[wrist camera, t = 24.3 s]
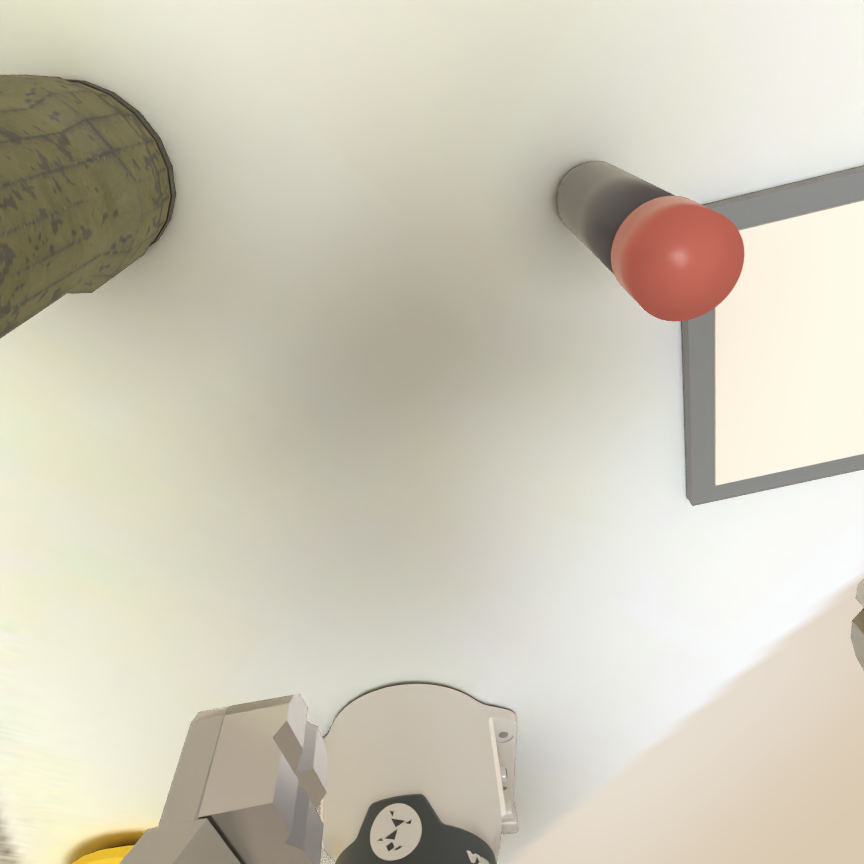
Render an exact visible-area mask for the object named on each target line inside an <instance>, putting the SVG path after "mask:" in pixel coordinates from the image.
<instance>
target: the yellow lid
mask: <svg viewBox="0 0 864 864" xmlns="http://www.w3.org/2000/svg"><path fill="white" fill-rule="evenodd" d="M133 846H134V845H128V846H122V847H116V848H109V849H103V850H99V851H96V852H93V853H90V854H87V855H84V856H82V857H81V858H79V859H78V860H76V861H75V862H73V863H72V864H119V863H120V862H121V861H122V859H123V858H124V857H125V856H126V855H127V853H128V852H129V851H130V850H131V849H132V848H133Z"/></svg>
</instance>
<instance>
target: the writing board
mask: <svg viewBox="0 0 864 864" xmlns="http://www.w3.org/2000/svg"><path fill="white" fill-rule="evenodd" d="M703 206H705V207H707V208H709V209H711V210H713V211H715V212H717V213H720V214H722V215H723V216H725V217H726V218H728V219H729V220H730V221H731V222H732V223H733V224H734V225H735V226H736V227H737V229H738V231H739V233H740V234H741V237H742V240H743V244H744V263H743V268H742V271H741V274H740V277H739V279H738V281H737V283H736V285H735V286H734V288H733V290H732V291H731V292H730V294H729V295H728V296H727V297H726V298H725V299H724V300H723V301H722V302H721V303H720V304H719V305H718V306H717V307H715V308H714V309H712V310H711V311H709V312H707V313H706V314H704V315H702V316H699V317H697V318H694V319H690V320H685V321H682V352H683V386H684V420H685V454H686V488H687V499H688V500H689V501H690V503H691V504H692V506H695V505H699V504H704V503H709V502H713V501H718V500H723V499H727V498H732V497H737V496H742V495H746V494H751V493H756V492H760V491H765V490H770V489H774V488H779V487H784V486H788V485H793V484H798V483H802V482H807V481H812V480H816V479H821V478H826V477H831V476H835V475H840V474H845V473H849V472H854V471H859V470H863V469H864V166H860V167H856V168H852V169H848V170H844V171H840V172H836V173H831V174H827V175H823V176H819V177H815V178H811V179H807V180H803V181H799V182H795V183H790V184H786V185H782V186H778V187H774V188H770V189H766V190H762V191H758V192H754V193H749V194H745V195H741V196H737V197H733V198H729V199H725V200H721V201H717V202H713V203H709V204H704V205H703Z"/></svg>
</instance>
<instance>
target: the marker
mask: <svg viewBox="0 0 864 864" xmlns="http://www.w3.org/2000/svg"><path fill="white" fill-rule="evenodd" d="M557 207H558V212H559V215H560V217H561V219H562V221H563V222H564V224H565V225H566V226H567V227H568V228H569V229H570V230H571V231H572V232H573V233H574V234H575V235H576V236H577V237H578V238H579V239H580V240H581V241H582V242H583V243H584V244H585V245H586V246H587V247H588V248H589V249H590V250H591V251H592V252H593V253H594V254H595V255H596V256H597V257H598V258H599V259H600V260H601V262H602V263H603V264H604V265H605V266H606V267H607V268H608V269H609V270H610V271H611V272H612V273H613V274H614V275H615V277H616V279H617V281H618V282H619V284H620V285H621V286H622V287H623V288H624V289H625V290H626V291H627V292H628V293H629V294H630V295H631V296H632V297H633V298H634V299H635V300H636V301H637V302H638V303H639V305H640V306H641V307H642V308H643V309H644V310H645V311H647V312H648V313H649V314H651V315H653V316H654V317H657V318H659V319H662V320H667V321H685V320H690V319H694V318H697V317H699V316H702V315H704V314H706V313H707V312H709V311H711V310H712V309H714V308H715V307H717V306H718V305H719V304H720V303H721V302H722V301H723V300H724V299H725V298H726V297H727V296H728V295H729V294H730V292H731V291H732V290H733V288H734V286H735V285H736V283H737V281H738V279H739V277H740V274H741V271H742V268H743V263H744V244H743V240H742V237H741V234H740V233H739V231H738V229H737V227H736V226H735V225H734V224H733V223H732V222H731V221H730V220H729V219H728V218H726V217H725V216H723V215H722V214H720V213H717V212H715V211H713V210H711V209H709V208H707V207H705V206H703V205H701V204H698V203H696V202H694V201H692V200H690V199H687V198H684V197H680V196H675V195H673V194H671V193H668V192H666V191H664V190H662V189H660V188H658V187H656V186H654V185H652V184H650V183H648V182H646V181H644V180H642V179H640V178H638V177H636V176H634V175H631V174H629V173H627V172H625V171H623V170H621V169H619V168H617V167H615V166H613V165H611V164H609V163H606V162H602V161H591V162H587V163H584V164H581V165H578V166H576V167H574V168H573V169H571V170H570V171H569V172H568V173H567V174H566V175H565V176H564V177H563V179H562V180H561V182H560V185H559V188H558V192H557Z"/></svg>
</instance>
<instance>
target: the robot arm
mask: <svg viewBox="0 0 864 864" xmlns="http://www.w3.org/2000/svg"><path fill="white" fill-rule="evenodd" d="M856 599H857V600H858V601H859V603H860V604H861V605H862V606H863V607H864V579H863V580H862V581H861V582H860V583H859V584H858V587H857V593H856ZM851 640H852V644H853V647H854V651H855V654H856V657H857V659H858V661H859V663H860V664H861V666H862V668H863V670H864V609H862V611H861V612H860V613H859V614H858V615H857V616H856V617H855V618H854V619H853V620H852V628H851ZM307 711H308V707H307V706H306V704H305V702H304V700H303V699H302V697H301V695H300V694H298V695H290V696H285V697H279V698H273V699H267V700H262V701H256V702H250V703H244V704H239V705H233V706H228V707H223V708H218V709H212V710H207V711H202V712H199V713H198V714H197V715H196V717H195V718H194V719H193V721H192V722H191V724H190V727H189V730H188V734H187V737H186V740H185V743H184V746H183V749H182V753H181V756H180V759H179V762H178V765H177V768H176V772H175V775H174V778H173V781H172V784H171V787H170V791H169V794H168V797H167V800H166V803H165V806H164V810H163V813H162V816H161V819H160V822H159V826H158V827H155V828H150V829H148V830H147V831H146V832H145V833H144V834H143V836H142V837H141V838H140V839H139V840H138V842H137V843H136V844H135V845H134V846H133V848H132V849H131V850H130V851H129V852H128V853H127V855H126V856H125V857H124V858H123V859H122V861H121V862H120V863H119V864H320V859H321V848H323V849H325V851H326V853H327V854H328V856H329V857H330V858H332V859H333V860H334V861H335V862H336V863H335V864H497V863H496V862H497V860H498V856H499V849H500V840H501V834H502V833H503V834H505V833H506V834H511V833H516V832H518V821H517V813H516V807H515V803H513V789H514V771H515V754H516V736H517V720H516V715H515V714H514V713H513V712H512V711H510V710H507V709H503V708H498V707H493V706H487V705H484V704H482V703H480V702H478V701H476V700H474V699H473V698H471V697H469V696H468V695H466V694H464V693H461V692H459V691H456V690H454V689H450V688H447V687H442V686H437V685H429V684H404V685H396V686H391V687H386V688H382V689H379V690H376V691H373V692H370V693H368V694H366V695H364V696H362V697H360V698H358V699H356V700H355V701H353V702H352V703H350V704H349V705H348V706H346V707H345V708H344V709H343V710H342V711H341V712H340V713H339V715H338V716H337V717H336V719H335V720H334V722H333V724H332V727H331V729H330V731H329V733H328V734H327V736H326V737H325V738H323V737H322V735H321V733H320V731H319V729H318V727H317V726H315V725H313V724H311V723H309V722H307V721H306V719H307ZM320 802H321V808H320V817H319V815H318V813H317V811H316V810H315V809H316V808H317V806H318V805H319V803H320Z"/></svg>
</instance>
